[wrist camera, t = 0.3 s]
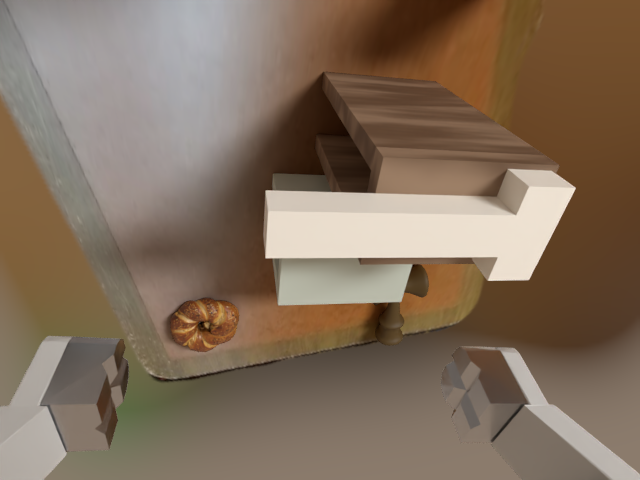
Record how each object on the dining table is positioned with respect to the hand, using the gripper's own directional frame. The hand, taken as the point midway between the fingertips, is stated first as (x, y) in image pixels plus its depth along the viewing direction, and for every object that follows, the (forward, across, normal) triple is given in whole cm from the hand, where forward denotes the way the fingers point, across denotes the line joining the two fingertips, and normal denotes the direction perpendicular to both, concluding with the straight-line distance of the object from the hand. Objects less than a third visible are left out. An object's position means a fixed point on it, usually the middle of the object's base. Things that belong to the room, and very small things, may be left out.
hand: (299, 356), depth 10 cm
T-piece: (+21, -11, +9) cm, 25 cm away
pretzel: (+44, +7, +49) cm, 66 cm away
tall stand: (+47, -15, +11) cm, 50 cm away
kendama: (+46, -25, +42) cm, 67 cm away
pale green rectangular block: (+46, -10, +25) cm, 53 cm away
